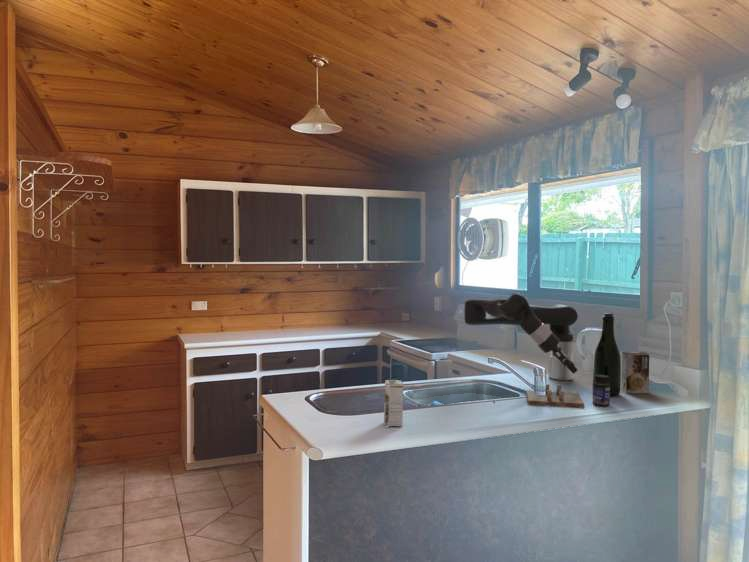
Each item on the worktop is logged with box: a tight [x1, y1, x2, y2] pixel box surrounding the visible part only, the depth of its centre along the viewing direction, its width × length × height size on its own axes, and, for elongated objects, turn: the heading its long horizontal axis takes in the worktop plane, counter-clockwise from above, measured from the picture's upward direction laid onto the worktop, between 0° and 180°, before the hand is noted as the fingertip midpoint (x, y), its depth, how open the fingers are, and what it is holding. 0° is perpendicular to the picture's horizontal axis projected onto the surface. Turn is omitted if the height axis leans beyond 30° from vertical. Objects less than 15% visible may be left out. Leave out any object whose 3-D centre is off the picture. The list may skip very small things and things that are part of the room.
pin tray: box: [525, 383, 585, 409], centre depth 228 cm, size 20×16×5 cm
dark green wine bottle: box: [592, 312, 622, 398], centre depth 238 cm, size 10×10×33 cm
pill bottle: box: [592, 375, 611, 408], centre depth 223 cm, size 6×6×11 cm
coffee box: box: [620, 351, 650, 394], centre depth 243 cm, size 9×6×16 cm
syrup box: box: [383, 379, 404, 427], centre depth 196 cm, size 6×6×14 cm
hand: (574, 369), depth 224 cm, fingers open, 8 cm apart
